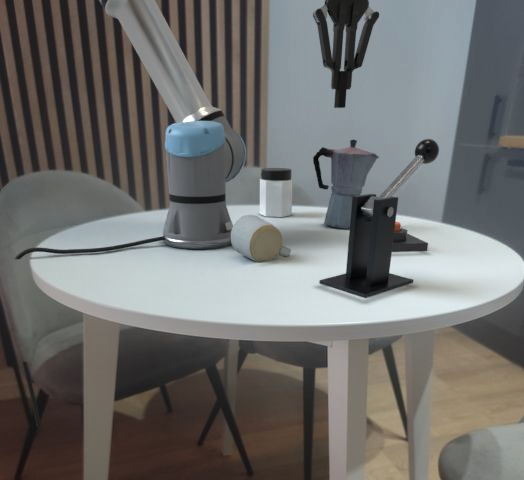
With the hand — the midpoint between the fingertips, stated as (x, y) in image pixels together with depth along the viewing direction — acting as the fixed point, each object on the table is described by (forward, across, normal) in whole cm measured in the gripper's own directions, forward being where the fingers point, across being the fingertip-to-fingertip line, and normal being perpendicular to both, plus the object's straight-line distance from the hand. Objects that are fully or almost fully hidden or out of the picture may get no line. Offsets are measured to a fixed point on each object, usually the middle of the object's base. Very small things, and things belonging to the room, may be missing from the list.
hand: (339, 107), depth 102 cm
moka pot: (+27, +6, +11) cm, 29 cm away
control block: (+26, +8, -14) cm, 31 cm away
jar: (+27, -7, +29) cm, 40 cm away
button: (+23, +8, -14) cm, 28 cm away
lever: (+12, 0, -34) cm, 36 cm away
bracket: (+26, -6, -38) cm, 47 cm away
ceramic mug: (+27, -19, -18) cm, 37 cm away
